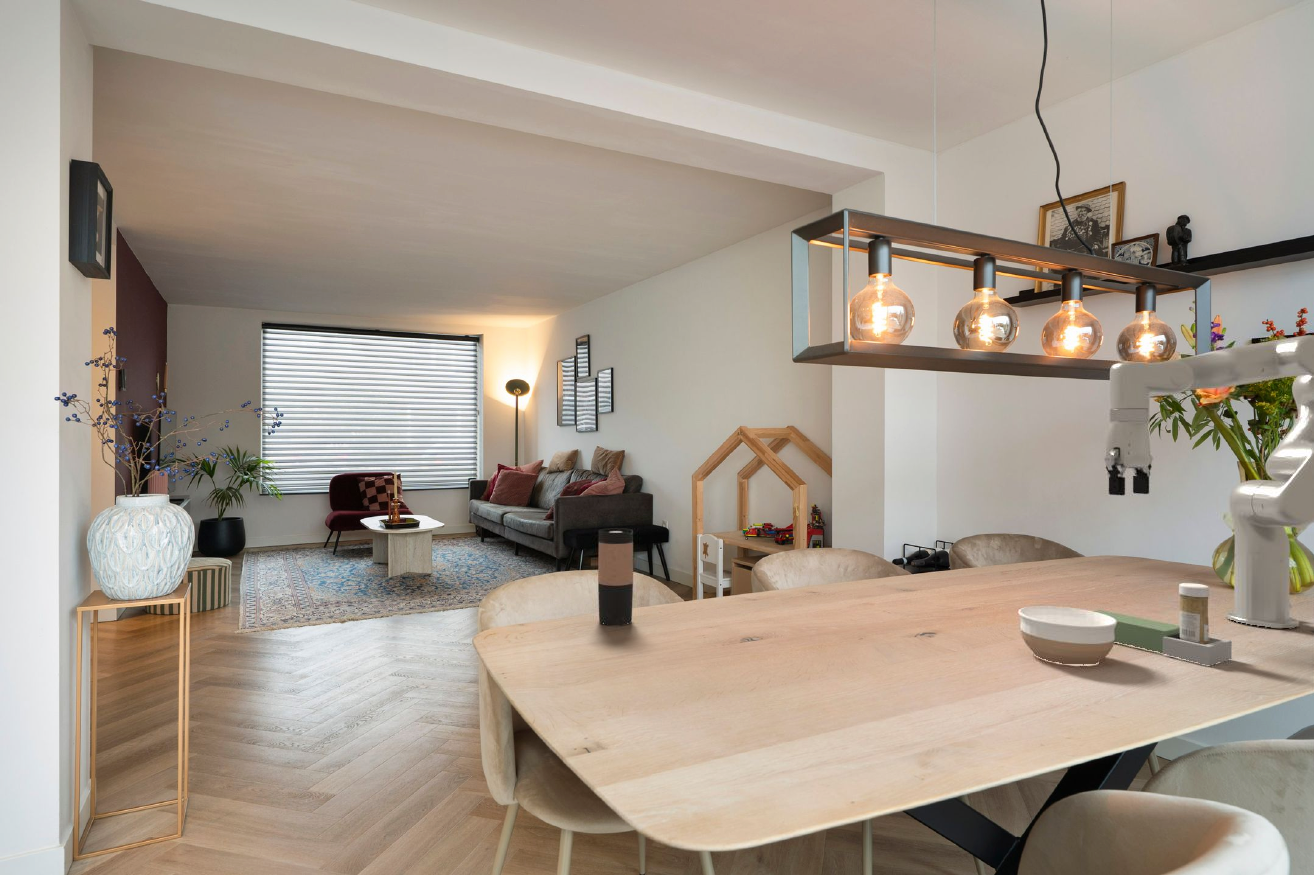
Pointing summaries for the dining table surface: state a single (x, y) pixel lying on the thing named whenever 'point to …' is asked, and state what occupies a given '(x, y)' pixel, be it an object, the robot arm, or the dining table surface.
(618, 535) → the travel mug
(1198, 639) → the sprinkles bottle
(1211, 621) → the dining table surface
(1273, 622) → the robot arm
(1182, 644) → the sliding drawer box
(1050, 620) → the bowl
